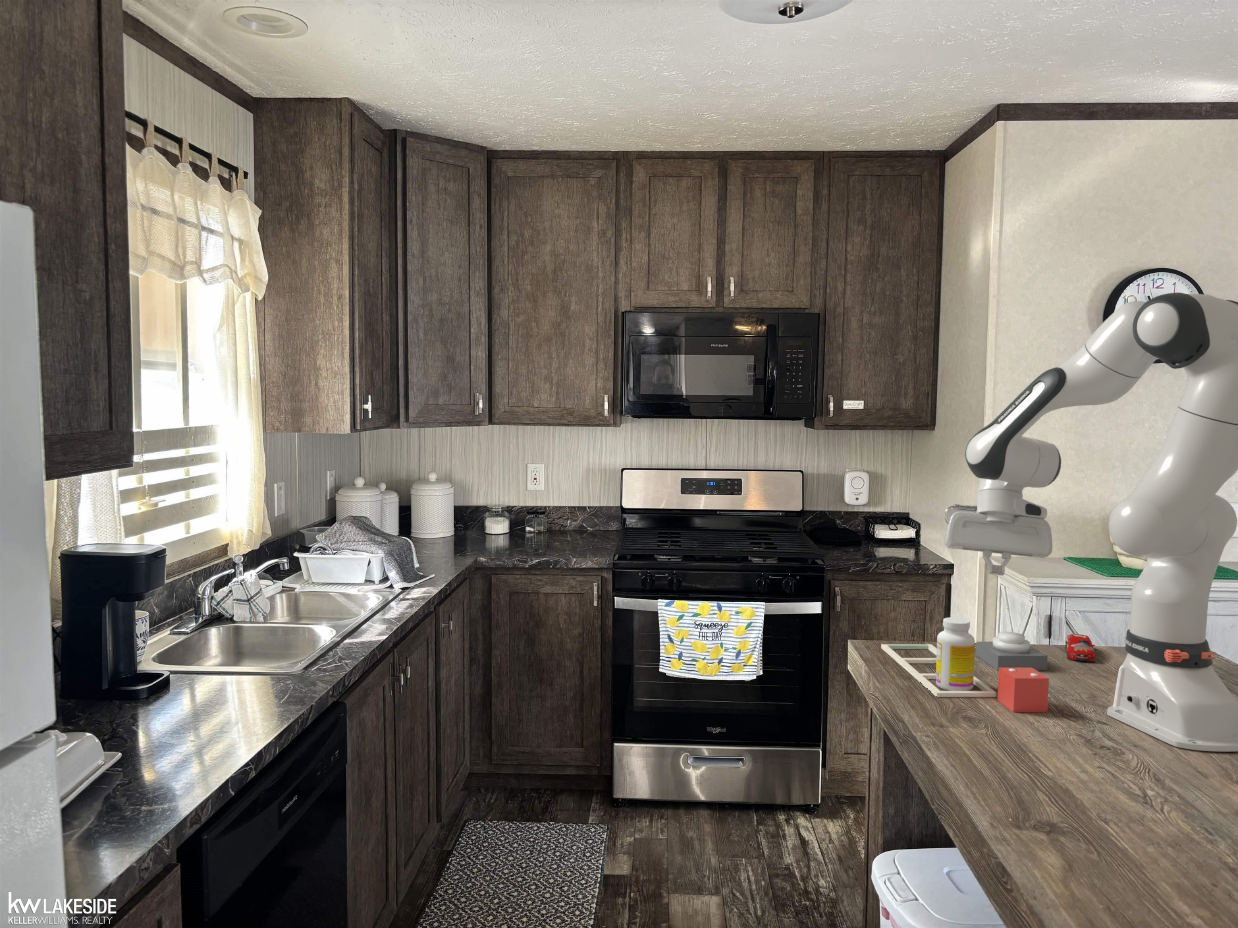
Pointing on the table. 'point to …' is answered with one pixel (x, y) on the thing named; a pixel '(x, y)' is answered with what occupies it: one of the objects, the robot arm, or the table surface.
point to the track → (923, 677)
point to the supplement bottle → (955, 656)
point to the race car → (1080, 648)
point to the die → (1023, 689)
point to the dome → (1011, 642)
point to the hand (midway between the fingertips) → (996, 574)
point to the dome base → (1011, 657)
